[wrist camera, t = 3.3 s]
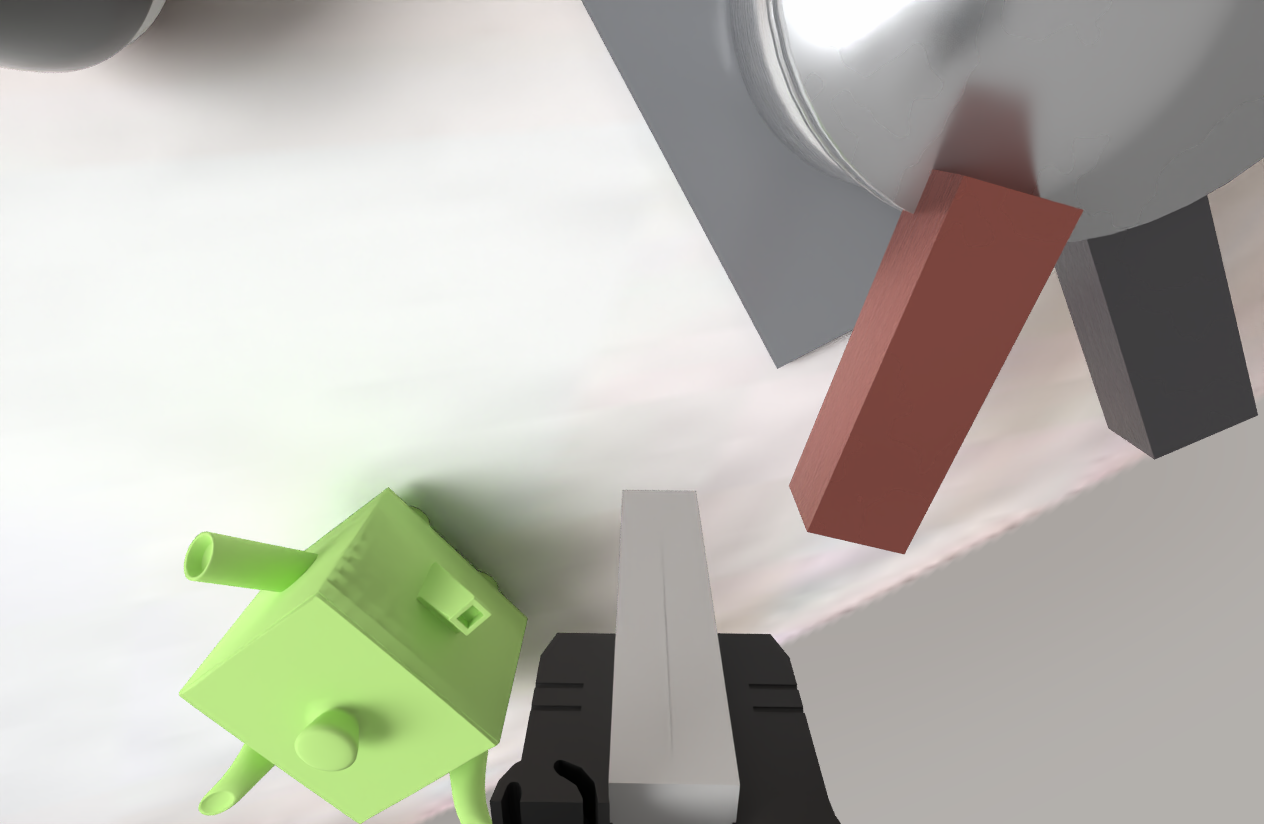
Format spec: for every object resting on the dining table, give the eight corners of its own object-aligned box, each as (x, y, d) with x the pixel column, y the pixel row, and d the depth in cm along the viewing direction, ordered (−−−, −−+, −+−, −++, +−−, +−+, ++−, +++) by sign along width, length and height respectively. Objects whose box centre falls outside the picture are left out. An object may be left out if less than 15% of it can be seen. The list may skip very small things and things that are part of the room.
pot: (651, -93, 24) (656, -219, 15) (1058, -386, 21) (1382, -774, 12) (892, 416, 32) (991, 538, 23) (1212, 263, 29) (1475, 333, 20)
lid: (925, -680, 12) (1016, -933, 9) (1603, -401, 13) (1872, -545, 10) (615, 438, 21) (610, 490, 18) (1031, 537, 23) (1089, 600, 20)
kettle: (532, 689, 41) (495, 880, 31) (301, 670, 41) (186, 857, 31) (540, 478, 35) (496, 630, 25) (268, 454, 35) (110, 598, 24)
